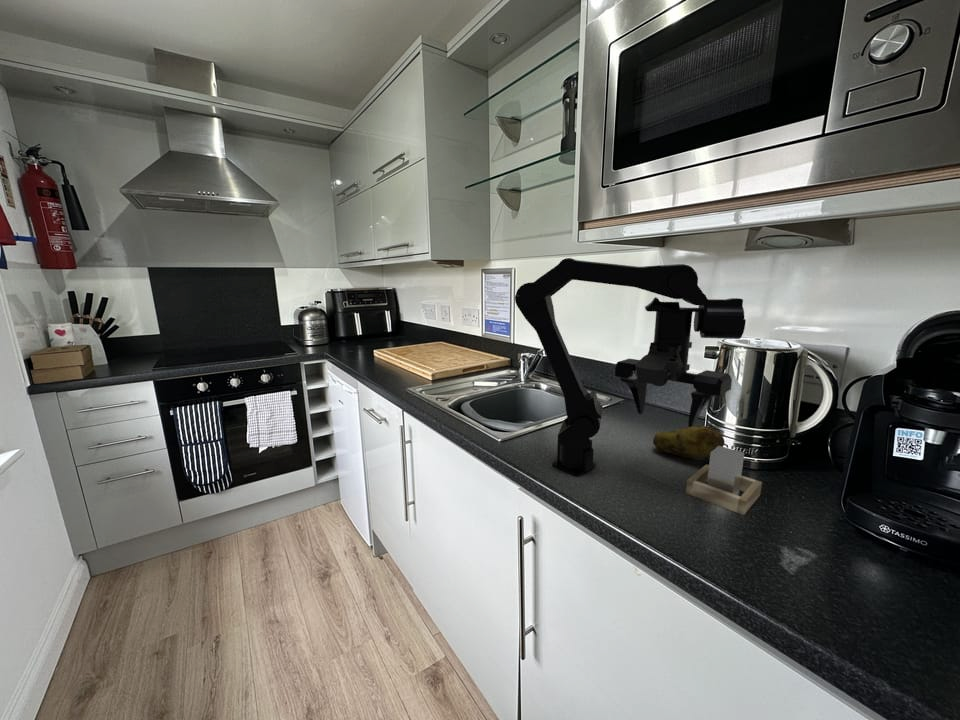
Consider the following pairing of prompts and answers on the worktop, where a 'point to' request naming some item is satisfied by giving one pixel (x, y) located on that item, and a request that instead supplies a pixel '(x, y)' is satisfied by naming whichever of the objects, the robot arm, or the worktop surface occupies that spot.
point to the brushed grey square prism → (725, 469)
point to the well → (724, 492)
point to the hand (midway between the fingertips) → (664, 419)
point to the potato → (689, 441)
